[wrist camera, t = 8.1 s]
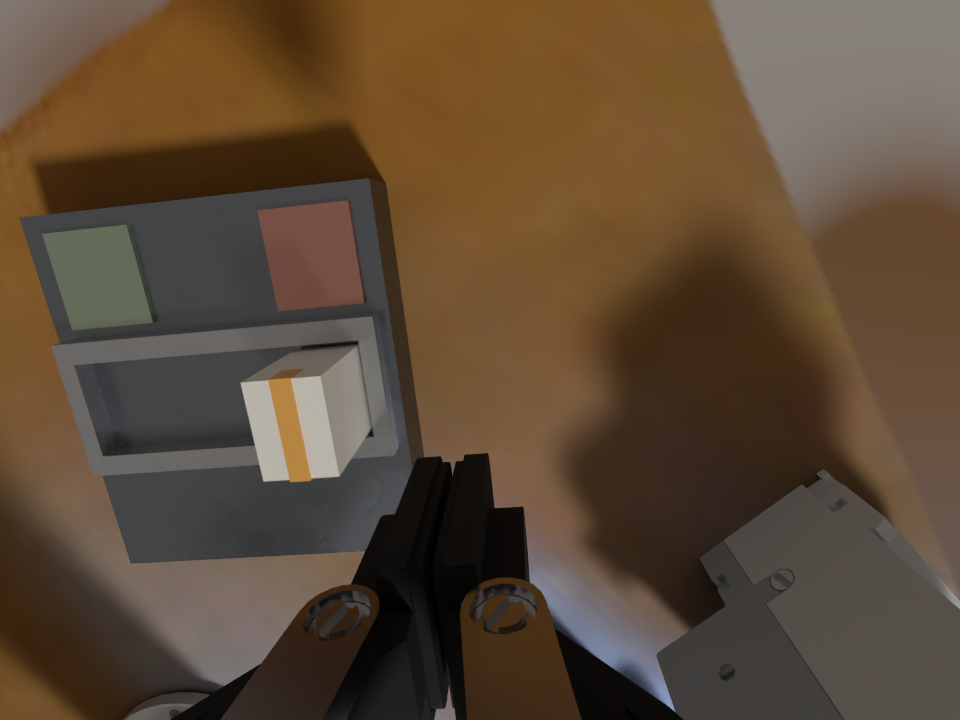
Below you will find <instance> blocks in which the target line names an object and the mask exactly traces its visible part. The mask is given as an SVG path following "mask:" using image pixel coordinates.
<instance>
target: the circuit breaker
mask: <svg viewBox="0 0 960 720" xmlns="http://www.w3.org/2000/svg"><path fill="white" fill-rule="evenodd" d="M817 475H818V476H819V477H820V478H821V479H819V480H818V481H816V482H815V483H814V484H812V485H811V486H809V487H808V488H806V487H805V486H803V485H802V484H801V485H800V486H798V487H797V488H796V489H794V490H793V491H791V492H790V493H789V494H787V495H786V496H784V497H783V498H782V499H780V500H779V501H777V502H776V503H775V504H773V505H772V506H770V507H769V508H768V509H766V510H765V511H763V512H762V513H761V514H759V515H758V516H756V517H755V518H754V519H752V520H751V521H750V522H748V523H747V524H745V525H744V526H743V527H741V528H740V529H738V530H737V531H736V532H734V533H733V534H731V535H730V536H729V537H727V538H726V539H724V540H723V541H722V542H720V543H719V544H717V545H716V546H715V547H713V548H712V549H710V550H709V551H708V552H706V553H705V554H704V555H702V556H701V557H700V561H701V562H702V564H703V566H704V568H705V569H706V571H707V573H708V575H709V576H710V578H711V580H712V581H713V582H714V583H715V584H716V585H717V587H718V589H719V590H717V591H718V592H719V594H720V596H721V598H722V599H723V601H724V603H725V607H724V608H722V609H721V610H719V611H718V612H716V613H715V614H714V615H712V616H711V617H709V618H708V619H706V620H705V621H703V622H702V623H700V624H699V625H698V626H696V627H695V628H693V629H692V630H690V631H689V632H687V633H686V634H684V635H683V636H681V637H680V638H679V639H677V640H676V641H674V642H673V643H671V644H670V645H668V646H667V647H665V648H664V649H663V650H661V651H660V652H658V653H657V659H658V662H659V665H660V667H661V670H662V673H663V676H664V679H665V682H666V685H667V688H668V691H669V694H670V697H671V700H672V703H673V706H674V709H675V712H676V713H677V714H678V715H679V716H680V717H681V718H682V719H683V720H960V601H959V600H958V599H957V598H956V597H955V595H954V594H953V593H952V592H951V591H950V590H949V589H948V587H947V586H946V585H945V584H944V583H943V582H942V581H941V580H940V578H939V577H938V576H937V575H936V574H935V573H934V572H933V571H932V569H931V568H930V567H929V566H928V565H927V564H926V563H925V562H924V560H923V559H922V558H921V557H920V556H919V555H918V554H917V553H916V551H915V550H914V549H913V548H912V547H911V546H910V545H909V544H908V542H907V541H906V540H905V539H904V538H903V537H902V536H901V534H900V533H899V532H898V531H897V530H896V529H895V528H894V527H893V525H892V524H891V523H890V522H889V521H888V520H887V519H886V518H885V517H884V516H883V515H882V514H880V513H879V512H878V511H877V510H875V509H874V508H873V507H871V506H870V505H869V504H868V503H866V502H865V501H864V500H863V499H861V498H860V497H859V496H857V495H856V494H855V493H854V492H852V491H851V490H850V489H849V488H847V487H846V486H845V485H843V484H842V483H841V484H840V483H839V482H838V481H836V480H835V479H834V478H833V477H832V476H831V475H830V474H829V473H828V472H827V471H826V470H824V469H822V470H821V471H819V472H818V473H817ZM724 542H725V543H724Z"/></svg>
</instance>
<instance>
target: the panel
mask: <svg viewBox="0 0 960 720" xmlns="http://www.w3.org/2000/svg"><path fill="white" fill-rule="evenodd" d="M20 221H21V224H22V227H23V230H24V233H25V236H26V239H27V242H28V246H29V249H30V252H31V255H32V258H33V261H34V264H35V267H36V270H37V273H38V277H39V280H40V283H41V286H42V289H43V292H44V295H45V298H46V301H47V305H48V308H49V311H50V314H51V317H52V320H53V323H54V326H55V329H56V332H57V336H58V339H59V342H60V343H59V344H55V345H51V348H52V351H53V354H54V357H55V360H56V363H57V366H58V369H59V372H60V375H61V378H62V381H63V384H64V387H65V390H66V393H67V397H68V400H69V403H70V406H71V409H72V412H73V415H74V418H75V421H76V424H77V427H78V430H79V433H80V436H81V439H82V442H83V445H84V448H85V452H86V455H87V458H88V461H89V464H90V467H91V470H92V473H93V476H103V478H104V482H105V485H106V488H107V491H108V494H109V497H110V500H111V503H112V506H113V509H114V513H115V516H116V519H117V522H118V525H119V528H120V531H121V534H122V537H123V541H124V544H125V547H126V550H127V553H128V556H129V559H130V562H131V563H150V562H168V561H187V560H206V559H225V558H243V557H262V556H281V555H299V554H318V553H337V552H356V551H366V549H367V547H368V544H369V542H370V540H371V538H372V535H373V533H374V531H375V528H376V526H377V524H378V522H379V519H380V518H381V516H382V515H389V514H395V512H396V510H397V507H398V505H399V502H400V500H401V497H402V495H403V492H404V490H405V487H406V485H407V482H408V479H409V477H410V474H411V472H412V469H413V467H414V464H415V462H416V459H417V458H424V452H423V445H422V438H421V431H420V424H419V417H418V410H417V403H416V395H415V388H414V381H413V374H412V367H411V360H410V353H409V345H408V338H407V331H406V324H405V317H404V310H403V303H402V295H401V288H400V281H399V274H398V267H397V260H396V253H395V246H394V238H393V231H392V224H391V217H390V210H389V203H388V196H387V188H386V183H383V182H379V181H376V180H373V179H370V178H367V179H359V180H350V181H341V182H332V183H323V184H314V185H305V186H296V187H288V188H279V189H270V190H261V191H252V192H243V193H234V194H225V195H217V196H208V197H199V198H190V199H181V200H172V201H163V202H155V203H146V204H137V205H128V206H119V207H110V208H101V209H92V210H84V211H75V212H66V213H57V214H48V215H39V216H30V217H21V218H20ZM351 344H359V350H360V356H361V362H362V368H363V374H364V380H365V386H366V392H367V398H368V404H369V410H370V416H371V422H372V428H371V430H370V431H369V433H368V434H367V436H366V437H365V439H364V440H363V442H362V443H361V445H360V446H359V448H358V449H357V451H356V452H355V454H354V455H353V457H352V458H351V460H350V461H349V463H348V464H347V466H346V467H345V469H344V470H343V472H342V473H341V475H340V476H339V477H326V478H312V480H311V481H302V482H290V480H281V481H265V482H263V478H262V473H261V469H260V465H259V460H258V456H257V452H256V448H255V443H254V439H253V435H252V430H251V426H250V422H249V417H248V413H247V409H246V405H245V400H244V396H243V392H242V387H241V382H242V381H244V380H246V379H247V378H249V377H251V376H252V375H254V374H256V373H257V372H259V371H261V370H262V369H264V368H266V367H267V366H269V365H271V364H272V363H274V362H276V361H277V360H279V359H281V358H282V357H284V356H286V355H287V354H289V353H291V352H292V351H294V350H296V349H305V348H317V347H328V346H340V345H351Z"/></svg>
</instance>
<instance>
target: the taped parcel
mask: <svg viewBox="0 0 960 720" xmlns="http://www.w3.org/2000/svg"><path fill="white" fill-rule="evenodd" d="M241 387H242V392H243V396H244V400H245V405H246V409H247V413H248V417H249V422H250V426H251V430H252V435H253V439H254V443H255V448H256V452H257V456H258V460H259V465H260V469H261V473H262V478H263V482H265V481H281V480H290V482H302V481H311V480H312V478H326V477H339V476H340V475H341V473H342V472H343V470H344V469H345V467H346V466H347V464H348V463H349V461H350V460H351V458H352V457H353V455H354V454H355V452H356V451H357V449H358V448H359V446H360V445H361V443H362V442H363V440H364V439H365V437H366V436H367V434H368V433H369V431H370V430H371V428H372V422H371V416H370V410H369V404H368V398H367V392H366V386H365V380H364V374H363V368H362V362H361V356H360V350H359V344H351V345H340V346H328V347H317V348H305V349H296V350H294V351H292V352H291V353H289V354H287V355H286V356H284V357H282V358H281V359H279V360H277V361H276V362H274V363H272V364H271V365H269V366H267V367H266V368H264V369H262V370H261V371H259V372H257V373H256V374H254V375H252V376H251V377H249V378H247V379H246V380H244V381H242V382H241Z"/></svg>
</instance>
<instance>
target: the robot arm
mask: <svg viewBox="0 0 960 720" xmlns="http://www.w3.org/2000/svg"><path fill="white" fill-rule="evenodd" d="M448 687H450V694H451V700H452V706H453V708H455V715H456V720H683V719H682V718H681V717H680V716H679V715H678V714H677V713H675V712H674V711H673V710H672V709H671V708H670V707H668V706H667V705H665V704H664V703H662V702H661V701H660V700H658V699H657V698H655V697H654V696H652V695H651V694H649V693H648V692H646V691H645V690H643V689H642V688H641V687H639V686H638V685H636V684H635V683H633V682H632V681H630V680H629V679H627V678H626V677H625V676H623V675H622V674H620V673H619V672H617V671H616V670H614V669H613V668H611V667H610V666H608V665H607V664H606V663H604V662H603V661H601V660H600V659H598V658H597V657H595V656H594V655H592V654H591V653H589V652H588V651H587V650H585V649H584V648H582V647H581V646H579V645H578V644H576V643H575V642H573V641H572V640H571V639H569V638H568V637H566V636H565V635H563V634H562V633H560V632H559V631H557V630H556V629H554V626H553V623H552V619H551V616H550V612H549V609H548V606H547V602H546V600H545V598H544V596H543V594H542V592H541V591H540V590H539V589H538V588H536V587H535V586H534V585H533V584H531V583H530V581H529V564H528V550H527V538H526V527H525V516H524V508H523V507H510V508H494V499H493V490H492V481H491V471H490V462H489V456H488V453H484V454H469V455H465V456H464V460H463V461H456V464H455V468H454V472H453V477H452V469H451V464H450V462H443V461H442V458H441V457H425V458H417V459H416V462H415V464H414V467H413V469H412V472H411V474H410V477H409V479H408V482H407V485H406V487H405V490H404V492H403V495H402V497H401V500H400V502H399V505H398V507H397V510H396V512H395V514H389V515H382V516H381V518H380V519H379V522H378V524H377V526H376V528H375V531H374V533H373V535H372V538H371V540H370V542H369V544H368V547H367V549H366V551H365V554H364V556H363V558H362V560H361V563H360V565H359V567H358V570H357V572H356V574H355V576H354V579H353V581H352V583H351V585H342V586H339V587H335V588H331V589H329V590H327V591H325V592H322V593H320V594H318V595H317V596H316V597H314V598H313V599H311V600H310V601H308V602H307V603H306V605H305V606H304V607H303V608H302V609H301V610H300V611H299V612H298V614H297V615H296V617H295V618H294V619H293V621H292V622H291V623H290V625H289V626H288V628H287V629H286V630H285V632H284V633H283V634H282V636H281V637H280V639H279V640H278V641H277V643H276V644H275V645H274V647H273V648H272V650H271V651H270V652H269V654H268V655H267V656H266V658H265V659H264V661H263V662H262V663H261V664H260V665H258V666H256V667H255V668H253V669H252V670H250V671H248V672H247V673H245V674H243V675H242V676H240V677H239V678H237V679H235V680H234V681H232V682H230V683H229V684H227V685H226V686H224V687H222V688H221V689H219V690H217V691H216V692H214V693H213V694H211V695H209V694H203V693H197V692H177V693H170V694H164V695H159V696H157V697H154V698H151V699H148V700H146V701H144V702H142V703H141V704H139V705H137V706H136V707H134V708H133V709H132V710H131V711H130V712H129V713H128V714H127V715H126V716H125V717H124V718H123V720H434V718H435V712H436V709H443V708H445V706H446V702H447V695H448Z"/></svg>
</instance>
